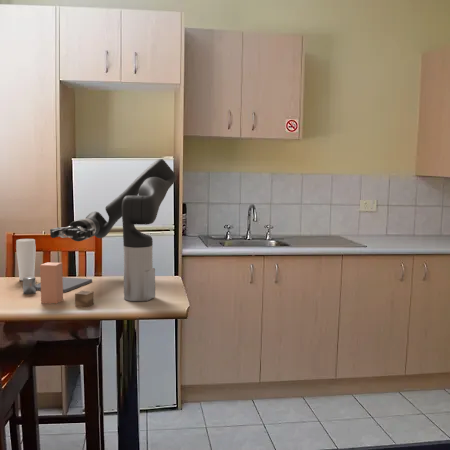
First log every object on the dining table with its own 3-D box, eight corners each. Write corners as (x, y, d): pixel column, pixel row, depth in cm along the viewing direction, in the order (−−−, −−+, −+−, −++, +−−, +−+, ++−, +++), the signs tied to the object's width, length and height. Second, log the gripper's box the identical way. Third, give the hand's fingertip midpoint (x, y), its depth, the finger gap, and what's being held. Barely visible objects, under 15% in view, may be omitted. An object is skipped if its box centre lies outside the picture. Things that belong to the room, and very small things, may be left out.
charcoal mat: (92, 281, 202) (92, 279, 201) (65, 292, 184) (64, 289, 184) (58, 279, 205) (58, 276, 205) (29, 289, 188) (29, 286, 188)
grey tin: (38, 291, 185) (37, 277, 184) (31, 294, 181) (30, 279, 181) (28, 291, 186) (27, 276, 185) (20, 293, 182) (20, 278, 182)
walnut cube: (93, 304, 169) (93, 291, 169) (87, 307, 165) (86, 294, 165) (82, 303, 170) (82, 290, 170) (75, 306, 166) (75, 293, 166)
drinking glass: (16, 281, 200) (15, 241, 199) (18, 278, 207) (16, 238, 205) (35, 281, 202) (34, 240, 201) (37, 277, 209) (35, 238, 207)
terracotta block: (63, 299, 174) (62, 262, 173) (56, 303, 169) (55, 265, 168) (48, 299, 175) (47, 262, 174) (41, 303, 170) (40, 265, 169)
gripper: (101, 240, 197) (85, 246, 181) (63, 239, 198) (44, 245, 182) (101, 219, 196) (85, 224, 180) (63, 218, 197) (43, 223, 181)
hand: (64, 235), depth 181 cm, fingers open, 8 cm apart
